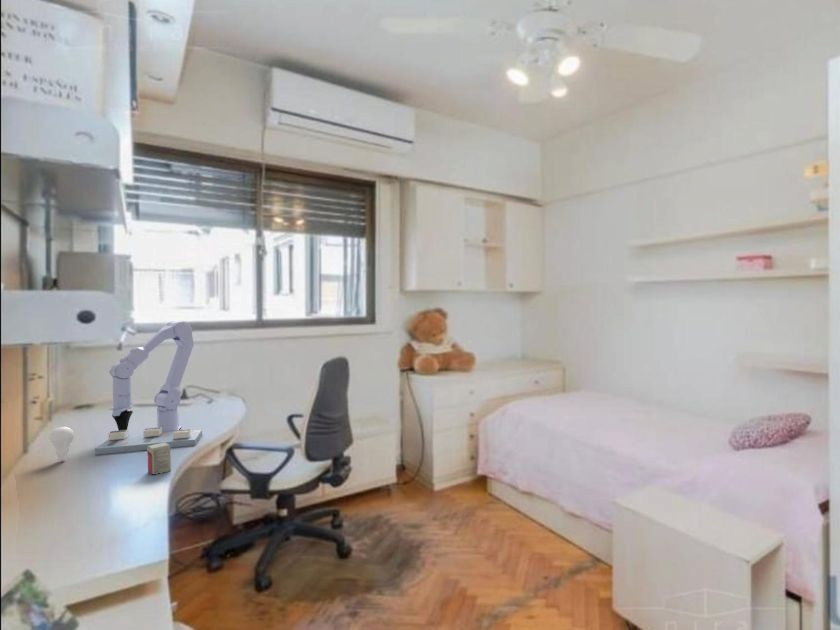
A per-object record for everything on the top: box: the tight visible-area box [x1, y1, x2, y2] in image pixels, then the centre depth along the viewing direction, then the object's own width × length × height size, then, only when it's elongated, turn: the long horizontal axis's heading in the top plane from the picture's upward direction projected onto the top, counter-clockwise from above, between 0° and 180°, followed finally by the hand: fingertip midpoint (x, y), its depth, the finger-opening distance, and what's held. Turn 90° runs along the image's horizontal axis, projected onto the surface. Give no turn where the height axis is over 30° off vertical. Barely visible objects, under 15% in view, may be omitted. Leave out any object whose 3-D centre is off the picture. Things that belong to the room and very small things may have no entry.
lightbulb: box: [49, 426, 75, 462], centre depth 148 cm, size 6×6×11 cm
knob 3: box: [173, 428, 192, 439], centre depth 166 cm, size 4×5×2 cm
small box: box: [146, 443, 172, 475], centre depth 136 cm, size 5×4×8 cm
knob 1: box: [108, 429, 129, 440], centre depth 166 cm, size 4×5×2 cm
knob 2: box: [143, 426, 162, 437], centre depth 170 cm, size 4×5×2 cm
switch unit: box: [94, 429, 203, 456], centre depth 166 cm, size 15×30×2 cm, turn 107°
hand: (123, 431), depth 171 cm, fingers closed
